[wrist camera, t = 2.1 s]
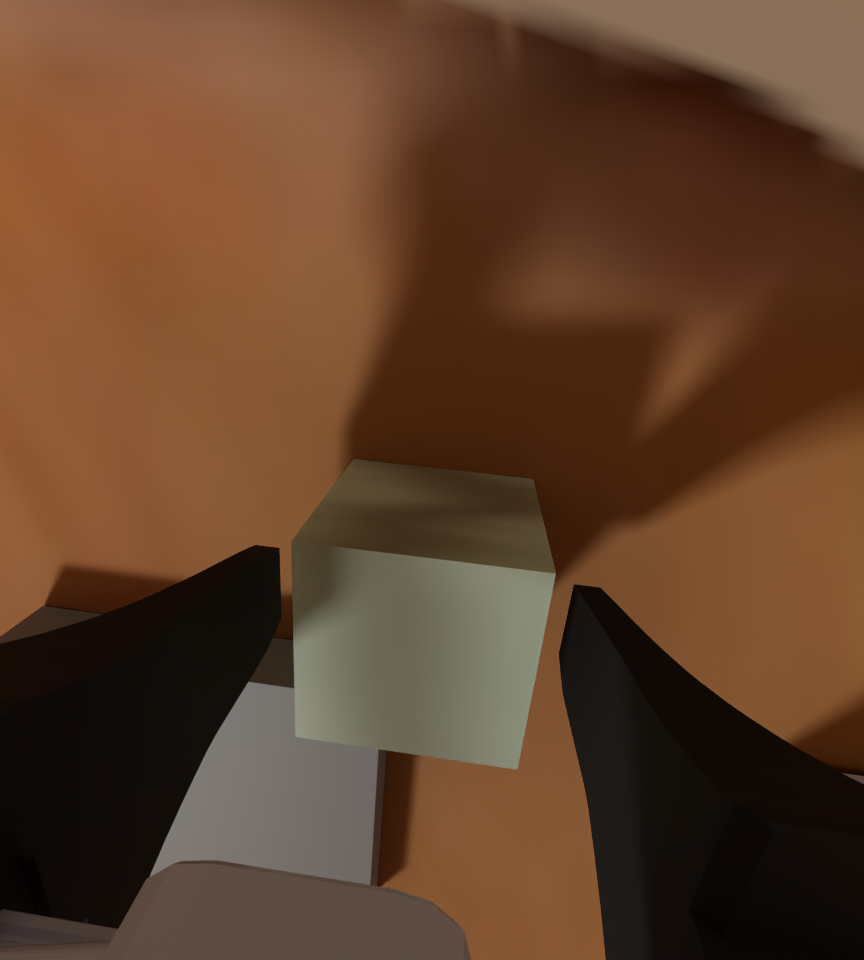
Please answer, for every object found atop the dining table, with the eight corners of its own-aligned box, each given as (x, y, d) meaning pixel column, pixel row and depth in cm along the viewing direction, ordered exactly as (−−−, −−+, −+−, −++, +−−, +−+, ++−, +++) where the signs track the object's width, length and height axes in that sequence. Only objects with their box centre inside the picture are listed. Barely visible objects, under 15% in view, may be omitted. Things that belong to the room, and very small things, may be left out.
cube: (533, 477, 14) (555, 573, 9) (508, 627, 16) (517, 769, 11) (354, 457, 14) (291, 541, 10) (350, 607, 16) (295, 736, 12)
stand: (393, 654, 17) (381, 700, 15) (377, 890, 21) (366, 949, 19) (42, 606, 17) (-11, 644, 15) (97, 843, 22) (61, 896, 20)
